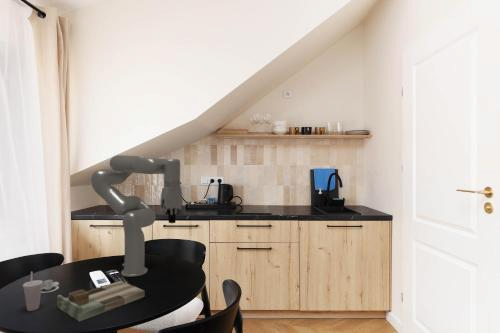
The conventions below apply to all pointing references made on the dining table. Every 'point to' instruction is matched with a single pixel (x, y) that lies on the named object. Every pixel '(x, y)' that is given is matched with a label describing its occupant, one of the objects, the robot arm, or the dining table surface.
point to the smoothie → (32, 293)
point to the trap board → (101, 300)
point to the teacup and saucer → (50, 285)
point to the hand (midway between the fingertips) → (172, 222)
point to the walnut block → (79, 297)
